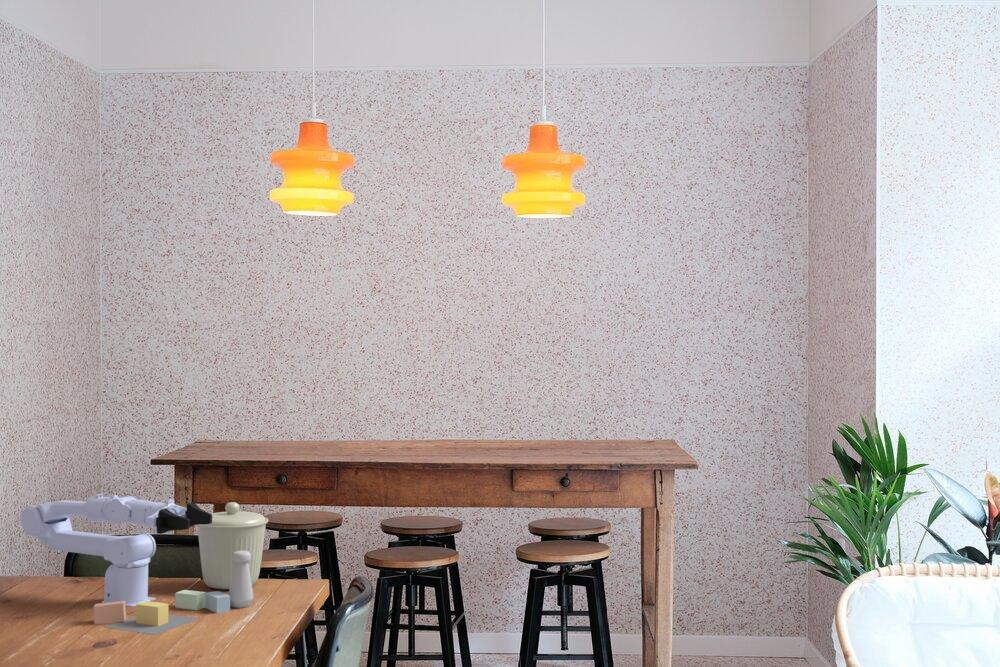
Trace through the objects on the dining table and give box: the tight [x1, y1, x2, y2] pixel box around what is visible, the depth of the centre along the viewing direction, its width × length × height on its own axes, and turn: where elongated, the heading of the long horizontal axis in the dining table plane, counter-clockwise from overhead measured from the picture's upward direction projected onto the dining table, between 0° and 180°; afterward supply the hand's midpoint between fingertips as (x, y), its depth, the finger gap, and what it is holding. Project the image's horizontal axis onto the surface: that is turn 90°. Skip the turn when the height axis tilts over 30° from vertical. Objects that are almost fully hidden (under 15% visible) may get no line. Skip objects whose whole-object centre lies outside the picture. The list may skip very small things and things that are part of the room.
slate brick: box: [204, 590, 231, 614], centre depth 227 cm, size 6×3×4 cm, turn 41°
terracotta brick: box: [93, 601, 127, 625], centre depth 216 cm, size 6×3×4 cm, turn 104°
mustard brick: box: [135, 600, 170, 626], centre depth 215 cm, size 6×3×4 cm, turn 67°
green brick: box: [174, 589, 207, 611], centre depth 229 cm, size 6×3×4 cm, turn 69°
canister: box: [195, 501, 269, 591], centre depth 253 cm, size 18×18×21 cm
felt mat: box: [103, 613, 200, 636], centre depth 215 cm, size 14×14×1 cm
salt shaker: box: [227, 551, 254, 609], centre depth 231 cm, size 6×6×13 cm
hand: (200, 521), depth 227 cm, fingers open, 7 cm apart
